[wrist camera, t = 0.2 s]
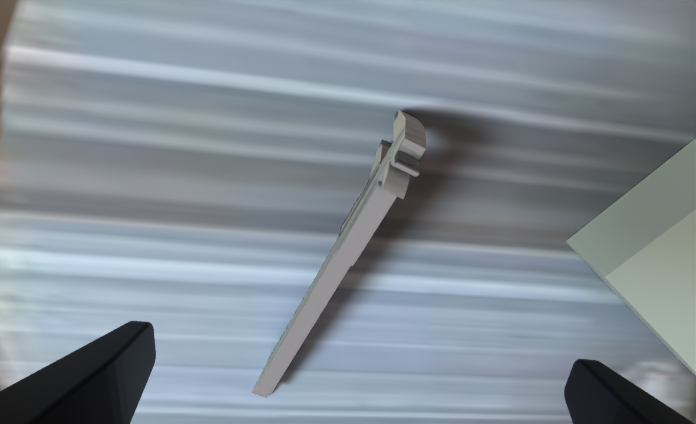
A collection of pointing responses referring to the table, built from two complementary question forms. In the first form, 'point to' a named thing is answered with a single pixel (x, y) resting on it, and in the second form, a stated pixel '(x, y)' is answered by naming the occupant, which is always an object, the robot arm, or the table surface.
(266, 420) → the table surface
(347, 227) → the caliper
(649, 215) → the end cap
